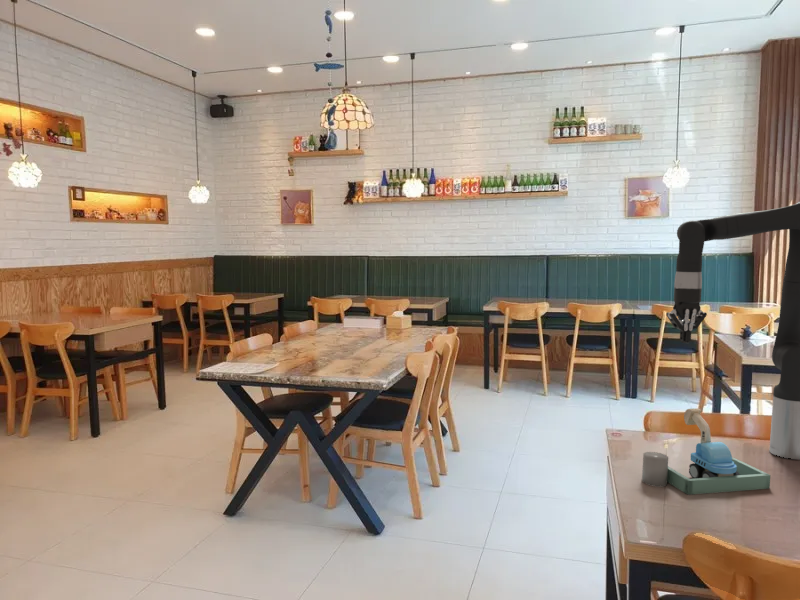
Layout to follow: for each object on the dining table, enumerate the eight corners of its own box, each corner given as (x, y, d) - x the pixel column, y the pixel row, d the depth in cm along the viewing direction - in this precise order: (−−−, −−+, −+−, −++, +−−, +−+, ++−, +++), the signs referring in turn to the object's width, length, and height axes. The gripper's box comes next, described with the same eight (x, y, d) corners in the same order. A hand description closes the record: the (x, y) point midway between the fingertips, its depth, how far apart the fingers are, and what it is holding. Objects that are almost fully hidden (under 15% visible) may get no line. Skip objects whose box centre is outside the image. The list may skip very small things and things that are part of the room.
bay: (732, 469, 163) (733, 457, 162) (769, 488, 150) (770, 475, 150) (656, 475, 158) (657, 462, 158) (687, 494, 146) (688, 481, 145)
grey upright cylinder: (657, 476, 157) (659, 451, 157) (671, 485, 151) (673, 459, 151) (637, 478, 156) (638, 452, 155) (650, 487, 150) (652, 460, 150)
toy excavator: (701, 465, 166) (705, 405, 164) (743, 490, 149) (747, 423, 148) (673, 466, 165) (676, 406, 163) (712, 491, 148) (716, 424, 146)
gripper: (698, 285, 185) (695, 340, 187) (660, 286, 183) (658, 341, 184) (715, 287, 178) (712, 344, 179) (676, 287, 175) (673, 345, 177)
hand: (685, 342), depth 182 cm, fingers closed
